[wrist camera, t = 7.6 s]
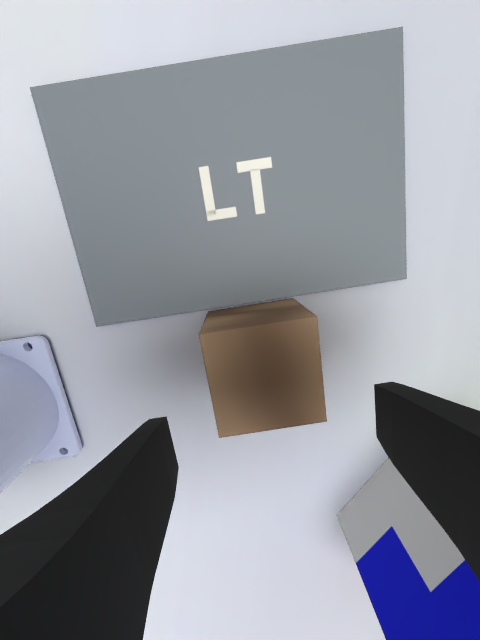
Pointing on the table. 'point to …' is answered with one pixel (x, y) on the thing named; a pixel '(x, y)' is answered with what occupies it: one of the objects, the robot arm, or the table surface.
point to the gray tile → (233, 176)
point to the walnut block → (263, 367)
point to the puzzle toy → (409, 563)
